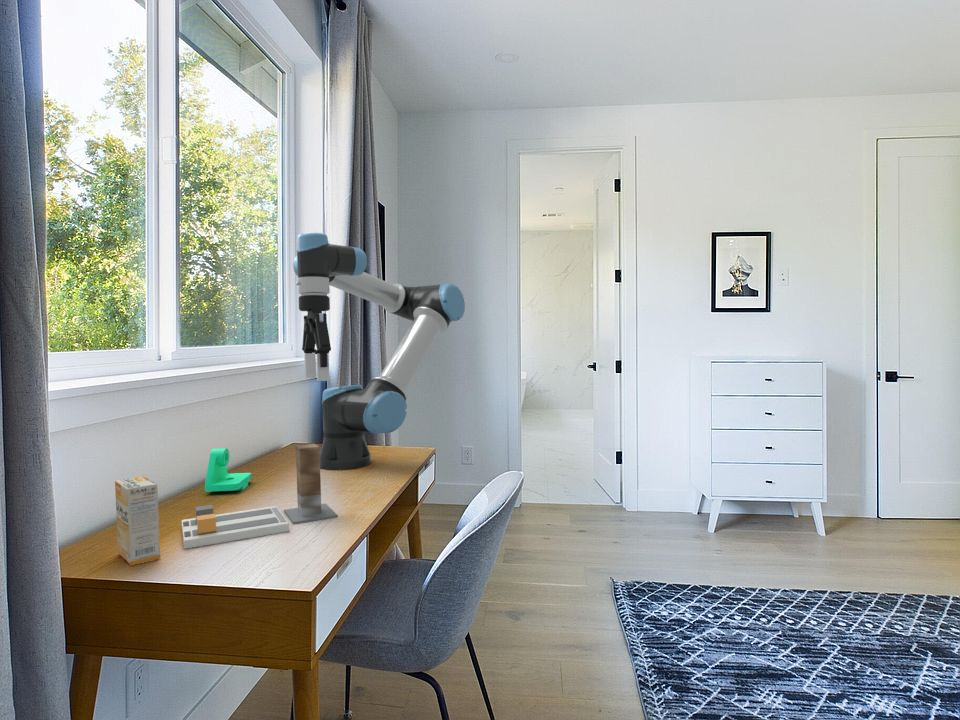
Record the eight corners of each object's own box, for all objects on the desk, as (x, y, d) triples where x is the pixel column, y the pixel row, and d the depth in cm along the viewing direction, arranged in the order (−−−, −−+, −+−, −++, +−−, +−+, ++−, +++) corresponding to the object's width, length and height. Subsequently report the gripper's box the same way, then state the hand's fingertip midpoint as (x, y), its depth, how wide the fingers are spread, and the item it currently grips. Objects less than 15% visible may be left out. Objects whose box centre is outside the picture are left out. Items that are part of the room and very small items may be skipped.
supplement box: (116, 554, 102) (113, 480, 101) (147, 547, 105) (144, 475, 105) (129, 567, 96) (125, 488, 96) (161, 559, 99) (158, 482, 99)
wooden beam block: (316, 508, 126) (314, 443, 125) (321, 513, 123) (319, 446, 122) (297, 511, 124) (295, 445, 124) (302, 516, 121) (299, 448, 120)
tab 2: (214, 526, 111) (214, 513, 111) (216, 531, 108) (215, 517, 108) (197, 529, 109) (196, 516, 109) (198, 533, 107) (197, 520, 107)
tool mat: (325, 505, 130) (325, 503, 130) (337, 516, 121) (337, 514, 121) (283, 511, 126) (283, 509, 126) (292, 524, 117) (292, 522, 117)
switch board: (276, 512, 125) (276, 505, 125) (289, 531, 113) (288, 522, 112) (181, 527, 116) (181, 519, 116) (184, 548, 104) (183, 540, 104)
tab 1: (212, 517, 117) (212, 504, 117) (213, 520, 114) (213, 508, 114) (195, 519, 116) (195, 507, 116) (196, 523, 113) (196, 510, 113)
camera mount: (238, 494, 141) (236, 452, 141) (205, 496, 141) (203, 453, 140) (252, 482, 153) (251, 443, 153) (222, 483, 153) (220, 444, 152)
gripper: (289, 298, 156) (291, 377, 157) (310, 290, 135) (313, 383, 135) (317, 298, 160) (319, 376, 161) (342, 291, 138) (345, 381, 139)
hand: (316, 379), depth 148 cm, fingers open, 13 cm apart
